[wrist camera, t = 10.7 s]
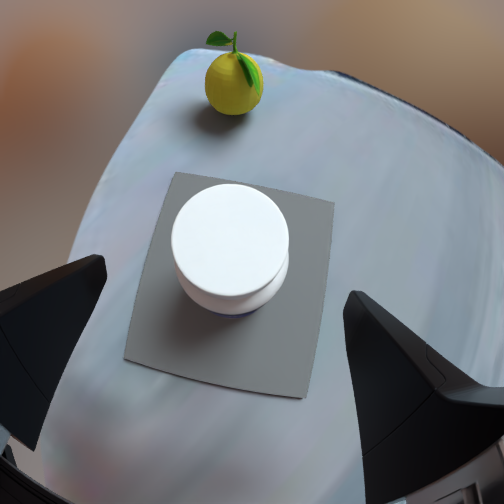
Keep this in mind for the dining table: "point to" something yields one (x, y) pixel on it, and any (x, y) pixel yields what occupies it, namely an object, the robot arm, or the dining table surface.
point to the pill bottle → (230, 249)
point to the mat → (240, 329)
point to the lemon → (232, 79)
